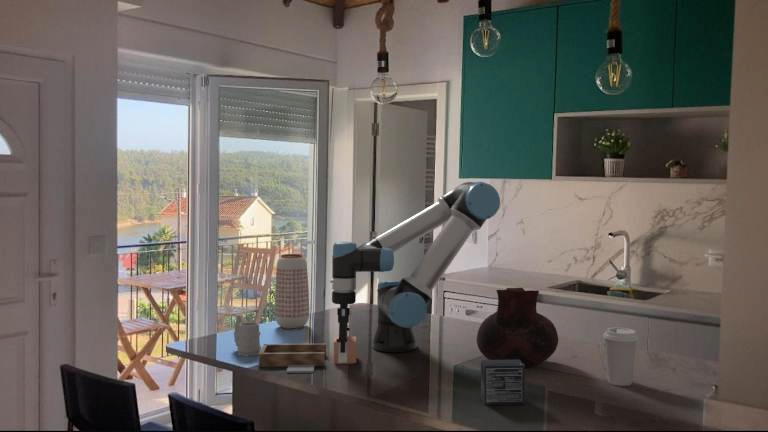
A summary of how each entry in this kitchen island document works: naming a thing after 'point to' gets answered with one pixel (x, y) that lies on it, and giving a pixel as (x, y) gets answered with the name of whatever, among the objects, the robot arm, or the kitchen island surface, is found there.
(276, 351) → the wooden tray
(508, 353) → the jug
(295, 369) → the mat
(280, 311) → the patterned vase
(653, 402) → the kitchen island surface
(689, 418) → the kitchen island surface
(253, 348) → the mug
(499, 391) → the small box
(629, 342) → the coffee cup
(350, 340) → the block
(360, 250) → the robot arm
